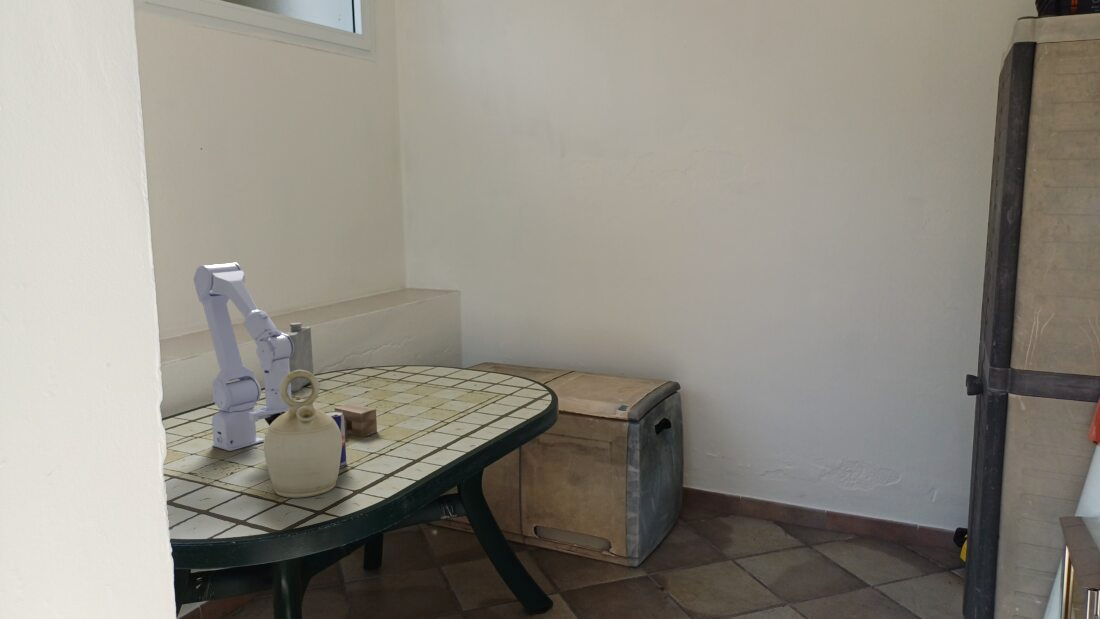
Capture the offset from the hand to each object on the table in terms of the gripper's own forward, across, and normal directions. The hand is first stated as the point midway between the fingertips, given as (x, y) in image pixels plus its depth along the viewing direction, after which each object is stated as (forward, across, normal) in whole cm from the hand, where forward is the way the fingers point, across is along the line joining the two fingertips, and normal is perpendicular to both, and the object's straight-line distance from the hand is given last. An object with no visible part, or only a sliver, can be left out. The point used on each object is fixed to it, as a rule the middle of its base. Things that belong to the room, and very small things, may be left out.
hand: (281, 444), depth 194 cm
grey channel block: (+2, +15, 0) cm, 15 cm away
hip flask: (+3, +45, +55) cm, 71 cm away
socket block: (+2, +22, 0) cm, 22 cm away
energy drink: (+3, +2, -17) cm, 17 cm away
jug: (+3, -10, -23) cm, 25 cm away
